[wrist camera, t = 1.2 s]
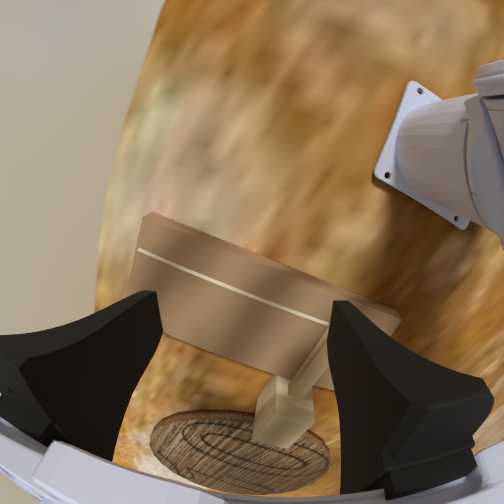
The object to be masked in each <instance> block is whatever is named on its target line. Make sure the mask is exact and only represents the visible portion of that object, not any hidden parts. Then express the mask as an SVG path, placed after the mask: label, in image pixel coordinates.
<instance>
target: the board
mask: <svg viewBox="0 0 504 504" xmlns="http://www.w3.org/2000/svg"><path fill="white" fill-rule="evenodd" d="M142 290H149V291H156V293H157V299H158V305H159V310H160V316H161V321H162V327H163V333H165V334H168V335H170V336H172V337H175V338H177V339H179V340H182V341H184V342H187V343H189V344H191V345H194V346H196V347H199V348H201V349H204V350H207V351H209V352H212V353H214V354H217V355H220V356H222V357H225V358H228V359H231V360H233V361H236V362H239V363H242V364H245V365H248V366H251V367H253V368H256V369H260V370H263V371H266V372H269V373H272V374H275V375H278V376H282V377H285V378H288V379H293V377H294V376H295V375H296V373H297V372H298V370H299V369H300V368H301V366H302V365H303V363H304V362H305V360H306V359H307V357H308V356H309V355H310V353H311V352H312V350H313V349H314V347H315V346H316V344H317V343H318V341H319V340H320V338H321V337H322V335H323V333H324V332H325V330H326V329H327V327H328V326H329V324H330V319H331V313H332V306H333V300H345V301H349V302H351V303H352V304H353V305H354V306H355V307H356V308H357V309H359V310H360V311H361V312H362V313H363V314H364V315H365V316H366V317H367V318H368V319H369V320H371V321H372V322H373V323H374V324H375V325H376V326H377V327H379V328H380V329H381V330H382V331H384V332H385V333H386V334H387V335H389V336H390V337H391V335H392V334H393V332H394V331H395V330H396V328H397V327H398V325H399V324H400V322H401V321H402V319H401V317H400V315H399V314H398V312H397V310H396V309H394V308H391V307H389V306H386V305H384V304H381V303H379V302H376V301H374V300H371V299H369V298H366V297H364V296H361V295H359V294H356V293H354V292H351V291H349V290H346V289H344V288H341V287H339V286H336V285H334V284H331V283H329V282H326V281H324V280H321V279H319V278H316V277H314V276H311V275H309V274H306V273H304V272H301V271H299V270H296V269H294V268H291V267H289V266H286V265H284V264H281V263H279V262H276V261H274V260H271V259H269V258H266V257H264V256H261V255H259V254H256V253H254V252H251V251H249V250H246V249H244V248H241V247H239V246H236V245H234V244H231V243H229V242H226V241H224V240H221V239H219V238H216V237H214V236H211V235H209V234H206V233H204V232H201V231H199V230H196V229H194V228H191V227H189V226H186V225H184V224H181V223H179V222H176V221H174V220H171V219H169V218H166V217H164V216H161V215H159V214H156V213H154V212H151V213H150V214H148V215H146V216H144V217H143V220H142V224H141V228H140V232H139V237H138V241H137V246H136V251H135V255H134V260H133V265H132V271H131V276H130V282H129V287H128V293H127V297H128V296H130V295H132V294H135V293H137V292H139V291H142ZM313 386H317V387H321V388H325V389H329V390H333V391H334V386H333V381H332V377H331V372H330V368H329V366H328V367H327V369H326V370H325V371H324V373H323V374H322V375H321V377H320V378H319V379H318V380H317V382H316V383H315V384H314V385H313Z"/></svg>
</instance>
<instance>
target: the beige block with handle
mask: <svg viewBox="0 0 504 504" xmlns="http://www.w3.org/2000/svg"><path fill="white" fill-rule="evenodd" d="M329 325H330V324H329ZM328 330H329V326H328V327H327V329H326V330H325V332H324V333H323V335H322V337H321V338H320V340H319V341H318V343H317V344H316V346H315V347H314V349H313V350H312V352H311V353H310V355H309V356H308V357H307V359H306V360H305V362H304V363H303V365H302V366H301V368H300V369H299V370H298V372H297V373H296V375H295V376H294V377H293V379H288V378H285V377H282V376H278V375H275V374H273V375H272V377H271V378H270V380H269V381H268V383H267V384H266V386H265V387H264V389H263V390H262V392H261V393H260V394H259V396H258V397H257V404H256V412H255V420H254V428H253V436H252V441H255V442H259V443H263V444H267V445H272V446H276V447H281V448H286V449H288V448H289V447H290V446H291V445H292V444H293V443H294V442H295V441H296V440H297V439H299V438H300V437H301V436H302V435H303V434H304V433H305V432H306V431H307V430H308V429H309V428H310V427H311V426H312V425H313V424H314V423H315V418H314V404H313V390H312V387H313V385H314V384H315V383H316V382H317V380H318V379H319V378H320V377H321V375H322V374H323V373H324V371H325V370H326V369H327V367H328V366H329V363H328V354H327V336H328Z"/></svg>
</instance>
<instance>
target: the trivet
mask: <svg viewBox="0 0 504 504" xmlns="http://www.w3.org/2000/svg"><path fill="white" fill-rule="evenodd" d="M254 420H255V413H249V412H241V411H233V410H205V409H200V410H193V411H185V412H178V413H175V414H173V415H170V416H168V417H165V418H163V419H162V420H161V421H160V422H159V423H158V424H157V425H156V426H155V427H154V429H153V431H152V434H151V437H150V443H149V445H150V447H151V449H152V452H153V454H154V455H155V456H156V458H157V459H158V460H159V461H160V462H161V463H162V464H163V465H164V466H166V467H167V468H168V469H170V470H171V471H172V472H174V473H175V474H177V475H179V476H181V477H183V478H185V479H187V480H189V481H191V482H194V483H196V484H199V485H202V486H205V487H208V488H212V489H215V490H220V491H224V492H230V493H238V494H250V495H266V494H277V493H284V492H288V491H293V490H297V489H300V488H302V487H305V486H307V485H310V484H312V483H314V482H315V481H317V480H318V479H320V478H321V477H323V475H324V474H325V473H326V471H327V470H328V468H329V449H328V447H327V446H326V444H325V442H324V441H323V439H322V438H320V437H319V436H317V435H316V434H315V433H313V432H312V431H310V430H309V429H308V430H307V431H306V432H305V433H304V434H303V435H302V436H301V437H300V438H299V439H297V440H296V441H295V442H294V443H293V444H292V445H291V446H290V447H289V448H288V449H286V448H281V447H276V446H272V445H267V444H263V443H259V442H255V441H252V436H253V428H254Z"/></svg>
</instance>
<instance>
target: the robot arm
mask: <svg viewBox="0 0 504 504" xmlns="http://www.w3.org/2000/svg"><path fill="white" fill-rule="evenodd" d="M476 77H477V78H475V79H474V80H473V86H474V88H475V90H476V92H477V94H471V95H466V96H461V97H456V98H451V99H446V100H441V99H440V98H439V97H437V96H436V95H434V94H433V93H432V92H430V91H429V90H427V89H426V88H424V87H423V86H421V85H420V84H418V83H417V82H415V81H411V82H409V83H408V84H407V86H406V89H405V91H404V94H403V97H402V100H401V103H400V105H399V108H398V111H397V113H396V116H395V119H394V121H393V124H392V126H391V129H390V131H389V134H388V136H387V139H386V141H385V144H384V146H383V149H382V151H381V154H380V156H379V158H378V161H377V163H376V165H375V168H374V175H375V177H376V178H378V179H380V180H381V181H383V182H385V183H387V184H389V185H390V186H392V187H394V188H396V189H398V190H399V191H401V192H403V193H404V194H406V195H408V196H410V197H411V198H413V199H415V200H416V201H418V202H420V203H421V204H423V205H424V206H426V207H428V208H429V209H431V210H432V211H434V212H436V213H437V214H439V215H440V216H442V217H443V218H445V219H446V220H448V221H449V222H451V223H452V224H454V225H455V226H457V227H458V228H460V229H461V230H465V229H466V228H467V226H468V224H469V222H470V220H471V221H473V222H474V223H476V224H478V225H480V226H482V227H484V228H486V229H488V230H490V231H491V232H493V233H495V234H497V235H498V237H499V238H500V241H501V244H502V249H503V250H504V60H500V61H497V62H493V63H489V64H486V65H483V66H479V67H478V70H477V73H476ZM417 89H419V90H420V91H421V94H419V93H418V92H417ZM386 172H388V173H389V177H388V178H387V179H386V178H385V177H384V174H385V173H386ZM455 216H456V219H455V220H454V217H455ZM162 333H163V327H162V321H161V316H160V310H159V305H158V299H157V293H156V291H149V290H142V291H139V292H137V293H135V294H132V295H130V296H128V297H126V298H124V299H122V300H120V301H118V302H116V303H114V304H112V305H110V306H108V307H106V308H104V309H102V310H100V311H98V312H96V313H94V314H92V315H89V316H87V317H85V318H82V319H80V320H77V321H74V322H71V323H69V324H66V325H63V326H59V327H55V328H51V329H47V330H43V331H38V332H32V333H26V334H15V335H0V393H1V394H2V395H1V396H0V471H1V472H2V473H4V474H5V475H6V476H7V477H8V478H10V479H11V480H12V481H13V482H15V483H16V484H17V485H18V486H20V487H21V488H22V489H24V490H25V491H26V492H28V493H29V494H31V495H32V496H33V497H35V498H36V499H38V500H39V501H41V502H40V504H504V441H500V442H498V443H496V444H494V445H492V446H490V447H487V448H485V449H483V450H481V451H479V452H478V453H476V454H475V455H473V453H472V450H471V448H473V447H474V446H475V442H474V440H473V437H472V436H473V435H474V433H475V432H476V431H477V430H478V428H479V427H480V426H481V425H482V423H483V422H484V421H485V419H486V418H487V417H488V415H489V413H490V412H491V409H492V407H493V404H494V397H493V395H492V393H491V392H490V390H489V388H488V387H487V385H486V383H485V382H484V380H483V379H482V378H478V377H474V376H470V375H467V374H463V373H459V372H456V371H453V370H451V369H448V368H445V367H443V366H440V365H438V364H436V363H433V362H431V361H429V360H427V359H425V358H423V357H421V356H419V355H418V354H416V353H414V352H412V351H411V350H409V349H408V348H406V347H404V346H403V345H401V344H400V343H398V342H397V341H395V340H394V339H393V338H391V337H390V336H389V335H387V334H386V333H385V332H384V331H382V330H381V329H380V328H379V327H377V326H376V325H375V324H374V323H373V322H372V321H371V320H369V319H368V318H367V317H366V316H365V315H364V314H363V313H362V312H361V311H360V310H359V309H357V308H356V307H355V306H354V305H353V304H352V303H351V302H349V301H345V300H333V306H332V313H331V319H330V325H329V330H328V336H327V354H328V363H329V368H330V372H331V377H332V381H333V386H334V391H335V395H336V400H337V405H338V411H339V420H340V436H341V486H340V495H333V496H319V497H262V496H248V495H237V494H228V493H220V492H214V491H207V490H204V489H202V488H199V487H195V486H192V485H188V484H185V483H181V482H178V481H174V480H171V479H166V478H162V477H159V476H155V475H151V474H148V473H144V472H141V471H138V470H134V469H131V468H128V467H125V466H122V465H119V464H117V463H114V462H112V460H113V455H114V450H115V446H116V442H117V438H118V434H119V431H120V427H121V424H122V421H123V418H124V415H125V412H126V409H127V407H128V404H129V401H130V399H131V396H132V394H133V392H134V390H135V388H136V386H137V384H138V382H139V380H140V378H141V377H142V375H143V373H144V371H145V369H146V368H147V366H148V364H149V362H150V360H151V359H152V357H153V355H154V353H155V351H156V349H157V347H158V344H159V342H160V339H161V336H162Z"/></svg>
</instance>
